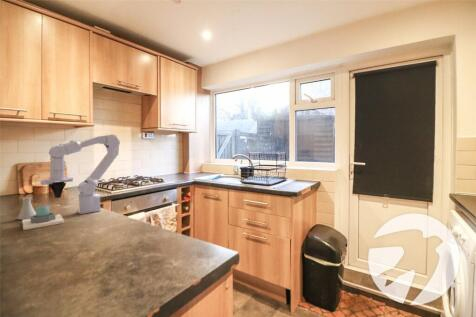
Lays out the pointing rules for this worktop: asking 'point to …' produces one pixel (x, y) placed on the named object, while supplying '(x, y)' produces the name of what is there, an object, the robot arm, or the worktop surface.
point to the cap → (42, 211)
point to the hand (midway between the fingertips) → (57, 197)
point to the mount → (42, 221)
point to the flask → (26, 209)
